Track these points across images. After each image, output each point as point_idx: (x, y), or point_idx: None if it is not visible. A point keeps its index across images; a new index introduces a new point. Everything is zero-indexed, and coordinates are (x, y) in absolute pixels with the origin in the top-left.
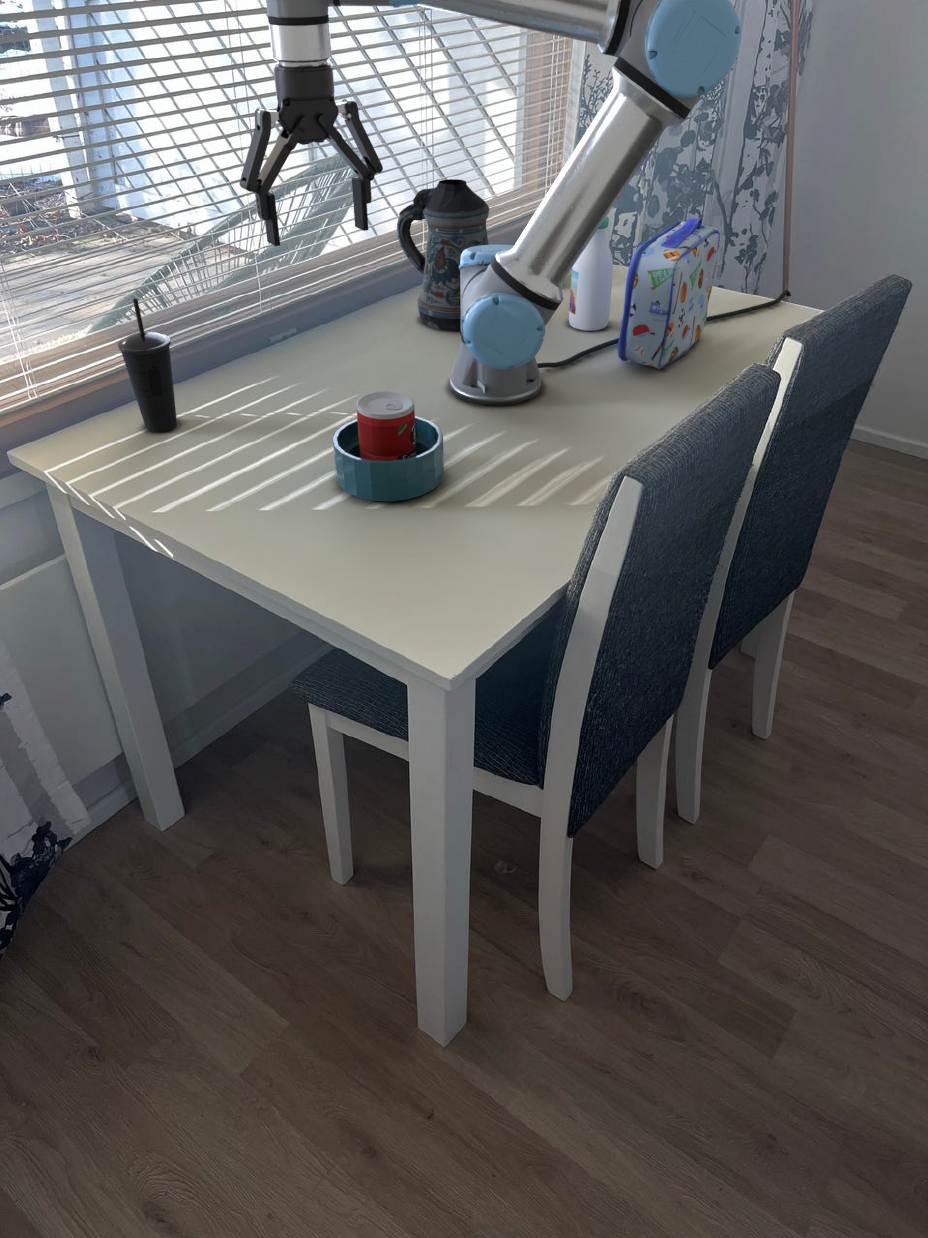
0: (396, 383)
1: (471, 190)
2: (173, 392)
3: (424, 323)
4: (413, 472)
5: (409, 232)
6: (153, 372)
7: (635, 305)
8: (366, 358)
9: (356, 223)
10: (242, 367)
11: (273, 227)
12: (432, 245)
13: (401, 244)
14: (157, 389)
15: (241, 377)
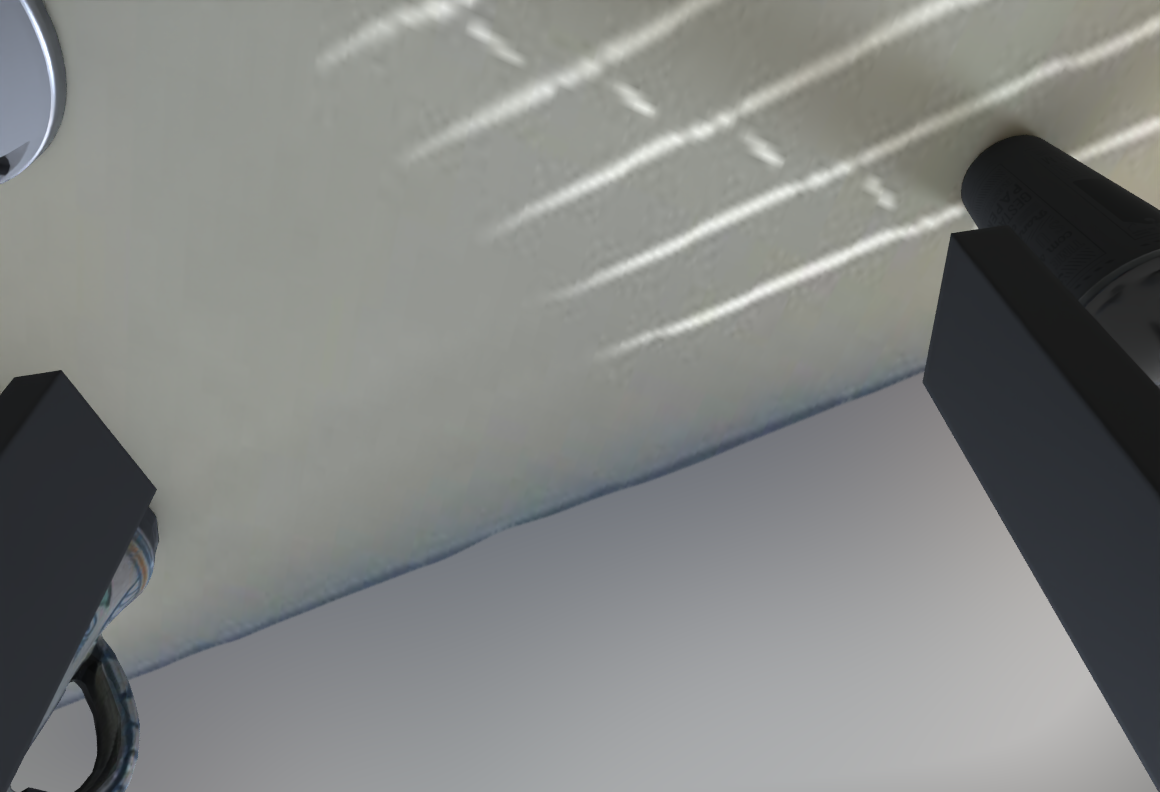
0: (265, 193)
1: None
2: (1011, 210)
3: (149, 508)
4: None
5: (95, 762)
6: (1143, 212)
7: None
8: (335, 377)
9: (126, 489)
10: (663, 428)
11: (1105, 331)
12: None
13: (134, 729)
14: (1100, 187)
15: (687, 379)
